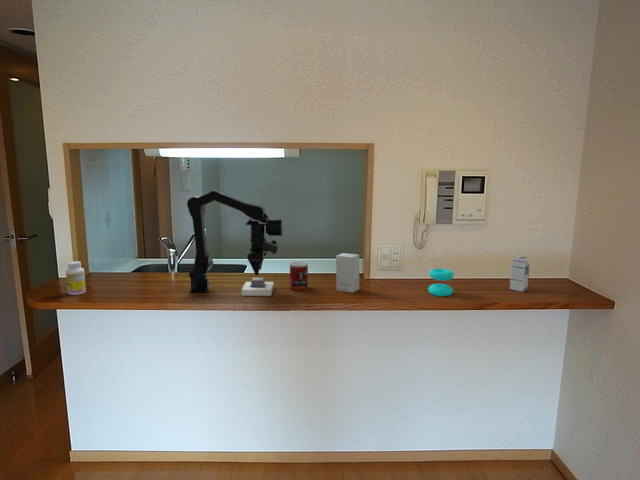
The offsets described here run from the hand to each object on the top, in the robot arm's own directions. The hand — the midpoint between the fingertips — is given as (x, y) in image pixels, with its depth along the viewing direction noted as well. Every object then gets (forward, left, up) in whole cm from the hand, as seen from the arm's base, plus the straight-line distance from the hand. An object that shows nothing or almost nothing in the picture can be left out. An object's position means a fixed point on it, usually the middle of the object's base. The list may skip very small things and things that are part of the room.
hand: (258, 272), depth 185 cm
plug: (0, 0, -8) cm, 8 cm away
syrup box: (+113, +5, -8) cm, 113 cm away
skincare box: (+38, +3, -9) cm, 39 cm away
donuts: (+77, -1, -9) cm, 77 cm away
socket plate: (0, 0, -8) cm, 8 cm away
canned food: (+17, +5, -9) cm, 20 cm away
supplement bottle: (-74, -4, -8) cm, 75 cm away
